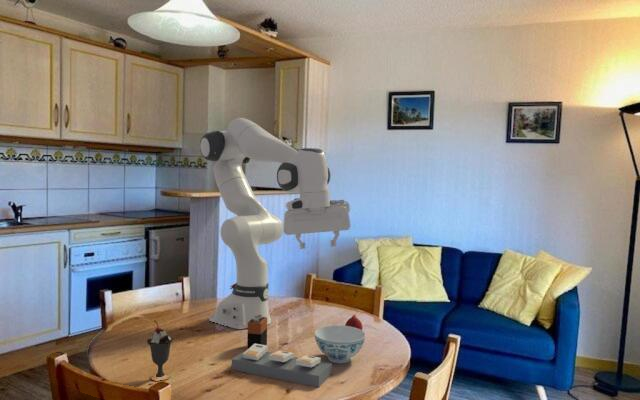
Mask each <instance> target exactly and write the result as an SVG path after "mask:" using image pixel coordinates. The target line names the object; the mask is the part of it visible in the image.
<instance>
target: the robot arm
mask: <svg viewBox="0 0 640 400" xmlns="http://www.w3.org/2000/svg"><path fill="white" fill-rule="evenodd" d="M199 149H200V154H201V156H202V157H203V158H204V159H205V160H206V161H210V162H215V164H214V166H213V174H214V175H213V176H214V179H215V183H216V185H217V188H218V190H219V194H220V196H221V198H222V200H223V203H224V205H225V208H226V209H227V210H228V211H229V212H231V213H233V214H234V215H236V216H234V217H231V218H228V219H226V220H224V222H223V223H222V224H221V227H220V238H221V240H222V242H223V243H224V244H225V245H226V246H227V247H228V248H229V249H230V250H231V252H232V253H233V256H234V260H235V264H236V265H235V266H236V283H234V284H233V285H229V287H230V288H229V289H230V290H232V292H231V293H230V294H229V295H227V296H226V297H224V298H223V299H222V300H221V301H219V303H218V304H217V306H216V310H215V311H216V312H215V314H213V315H211V316H210V317H209V321H212V322H215V323H214V324H216V323H218V324H217V325H220V324H221V325H220V326H223V325H224V327H227V326H228V327H229V328H232V329H235V330H243V329H248V322H249V321H250V320H251V319H252V318H254V317H255V316H257V315H262V317H267V326H268V325H270V324H271V323H272V319H271V316H270V309H269V292H270V291H269V289H270V287H269V283H268V269H269V267H268V262H267V260H266V259H265V258H264V257H263V256H261V255H260V253H259V250H258V246H260V245H268V244H271V243H274V242H277V241H278V240H280V239H281V237H282V236H283V234H285V235H286V236H292V235H295V239H296V240H297V242H298V243H299V248H300V250H303V249H306V243H305V242H302V240H301V239H300V238H302V234H303V235H305V234H313V233H314V234H315V233H329V232H333V235H334V236H333V239H330V247H337V240H338V238H339V236H340V231H349V230H350V228H351V220H350V215H349V213H350V203H349V202H348V201H346V200H344V199H339V200H338V199H335V200H332V199H331V198H330V189H329V188H330V187H329V183H330V182H331V170H330V168H329V165H328V162H327V161H328V160H327V156H326V154H325V151H323V150H322V149H321V148H311V147H304V148H300V149H297V148H295V147H293V146H292V145H290V144H288V143H287V142H286V141H285V142H284V141H283V140H281V139H280V138H278V137H276V136H274V135H273V134H271V133H270V132H268V131H267V130H266V129H264V128H262V127H261V126H260V125H259V124H257V123H256V122H254V121H252V120H250V119H248V118H245V117H237V118H235V119H233V120H231V122H230V123H229V125H228V128H227V130H216V131H215V130H214V131H213V130H212V131H211V132H207V133H205V134H203V135H202V137H201V139H200V141H199ZM250 160H252V161H255V162H262V163H263V162H268V163H277V164H279V163H280V165H279V167H278V168H277V170H276V180H277V184H278V186H279V188H281V190H283V191H284V192H288V193H295V192H299V197H297V198H294V199H292V200H289V201H287V202H286V203H285V208H286V209H287V210H285V212H284V214H283V223H282V220H281V218H279V216H276V215H274V214H273V213H271V211H269V210H268V209H267V208H266V207H265V206H264V205H263V204H262V203H261V202H260V201H259V200H258V198H257V196H256V195H255V194H254V192H253V189H252V187H251V186H250V184H249V180H248V179H247V177H246V174H245V173H244V171H243V167H242V164H248V163H250ZM212 322H211V323H212Z"/></svg>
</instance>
